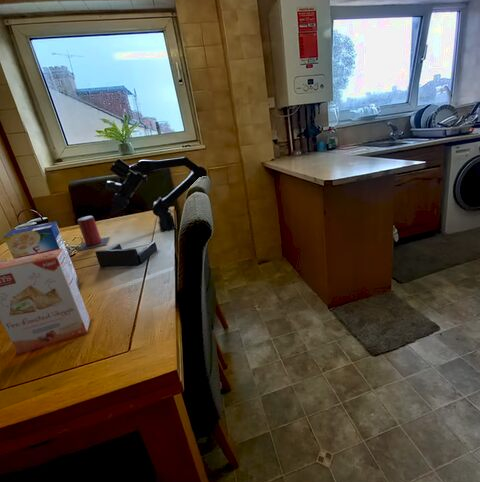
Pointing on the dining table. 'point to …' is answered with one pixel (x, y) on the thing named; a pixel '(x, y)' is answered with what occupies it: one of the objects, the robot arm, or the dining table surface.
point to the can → (89, 231)
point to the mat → (103, 243)
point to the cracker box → (40, 301)
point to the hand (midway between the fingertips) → (112, 212)
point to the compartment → (124, 256)
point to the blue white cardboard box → (37, 242)
